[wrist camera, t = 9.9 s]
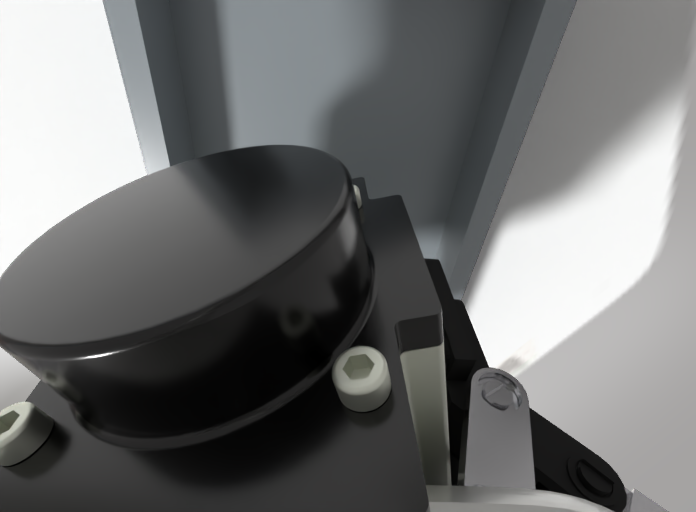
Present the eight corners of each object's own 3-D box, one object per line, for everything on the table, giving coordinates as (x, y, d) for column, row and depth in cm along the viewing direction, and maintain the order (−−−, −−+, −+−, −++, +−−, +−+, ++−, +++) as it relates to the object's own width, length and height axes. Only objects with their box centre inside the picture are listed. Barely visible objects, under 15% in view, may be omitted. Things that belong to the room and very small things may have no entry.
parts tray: (130, -118, 10) (63, -154, 7) (546, -62, 11) (606, -79, 8) (218, 350, 22) (203, 395, 19) (412, 358, 23) (421, 402, 20)
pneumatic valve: (298, 343, 18) (266, 753, 8) (193, 100, 11) (-772, 888, 1) (408, 324, 17) (508, 733, 8) (371, 59, 11) (844, 796, 1)
